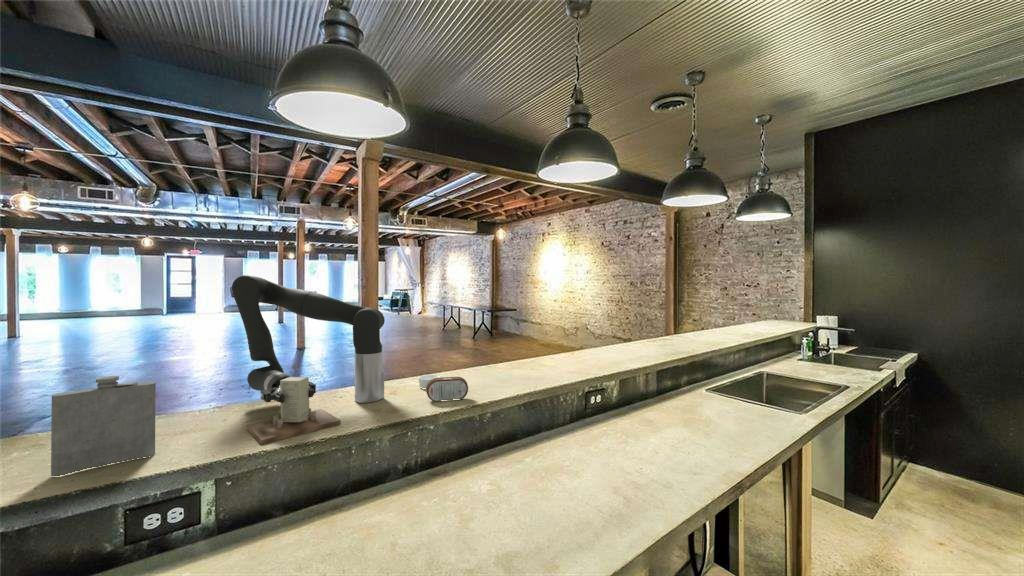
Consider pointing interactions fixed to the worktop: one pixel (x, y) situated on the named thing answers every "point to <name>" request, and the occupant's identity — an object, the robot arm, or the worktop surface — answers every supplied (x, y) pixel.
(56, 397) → the hip flask
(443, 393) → the tin
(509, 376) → the worktop surface
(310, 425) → the pin tray
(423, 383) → the ramekin
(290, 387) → the skincare box
